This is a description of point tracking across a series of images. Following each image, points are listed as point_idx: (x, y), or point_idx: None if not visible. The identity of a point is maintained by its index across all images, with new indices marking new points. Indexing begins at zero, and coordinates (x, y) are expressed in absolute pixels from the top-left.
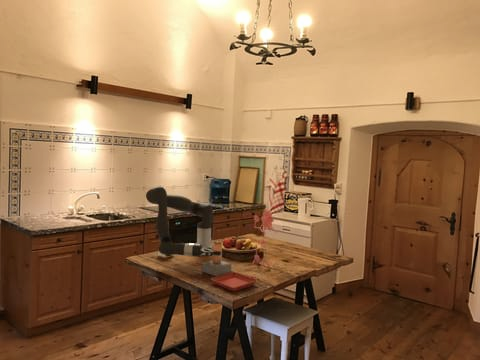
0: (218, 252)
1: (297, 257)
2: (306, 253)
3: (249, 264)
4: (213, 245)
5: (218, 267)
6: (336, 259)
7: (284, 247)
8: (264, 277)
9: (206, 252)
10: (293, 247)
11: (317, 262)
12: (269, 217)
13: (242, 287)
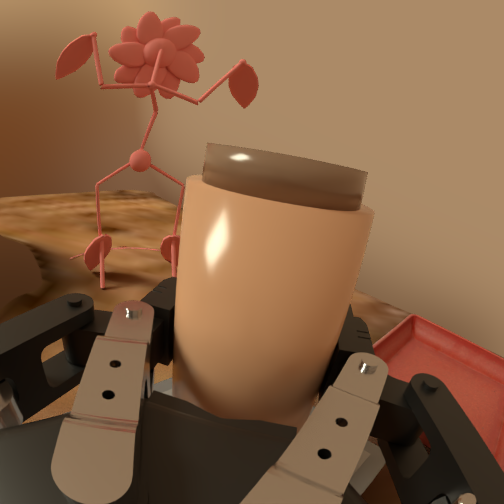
0: (359, 325)
1: (93, 213)
2: (74, 202)
3: (99, 297)
4: (336, 258)
5: (371, 443)
6: (141, 195)
7: (3, 207)
8: None
9: (485, 461)
10: (18, 201)
11: (151, 209)
12: (186, 43)
13: (473, 364)
